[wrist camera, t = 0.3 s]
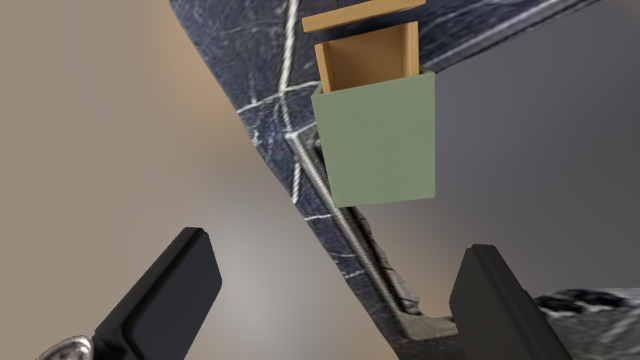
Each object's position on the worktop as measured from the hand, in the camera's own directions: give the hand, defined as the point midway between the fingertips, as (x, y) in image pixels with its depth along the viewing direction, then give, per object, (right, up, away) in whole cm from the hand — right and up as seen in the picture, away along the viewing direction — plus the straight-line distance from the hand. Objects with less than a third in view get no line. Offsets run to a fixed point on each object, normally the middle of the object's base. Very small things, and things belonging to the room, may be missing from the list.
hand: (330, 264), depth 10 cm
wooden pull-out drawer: (+5, +19, +23) cm, 30 cm away
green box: (+7, +11, +28) cm, 31 cm away
